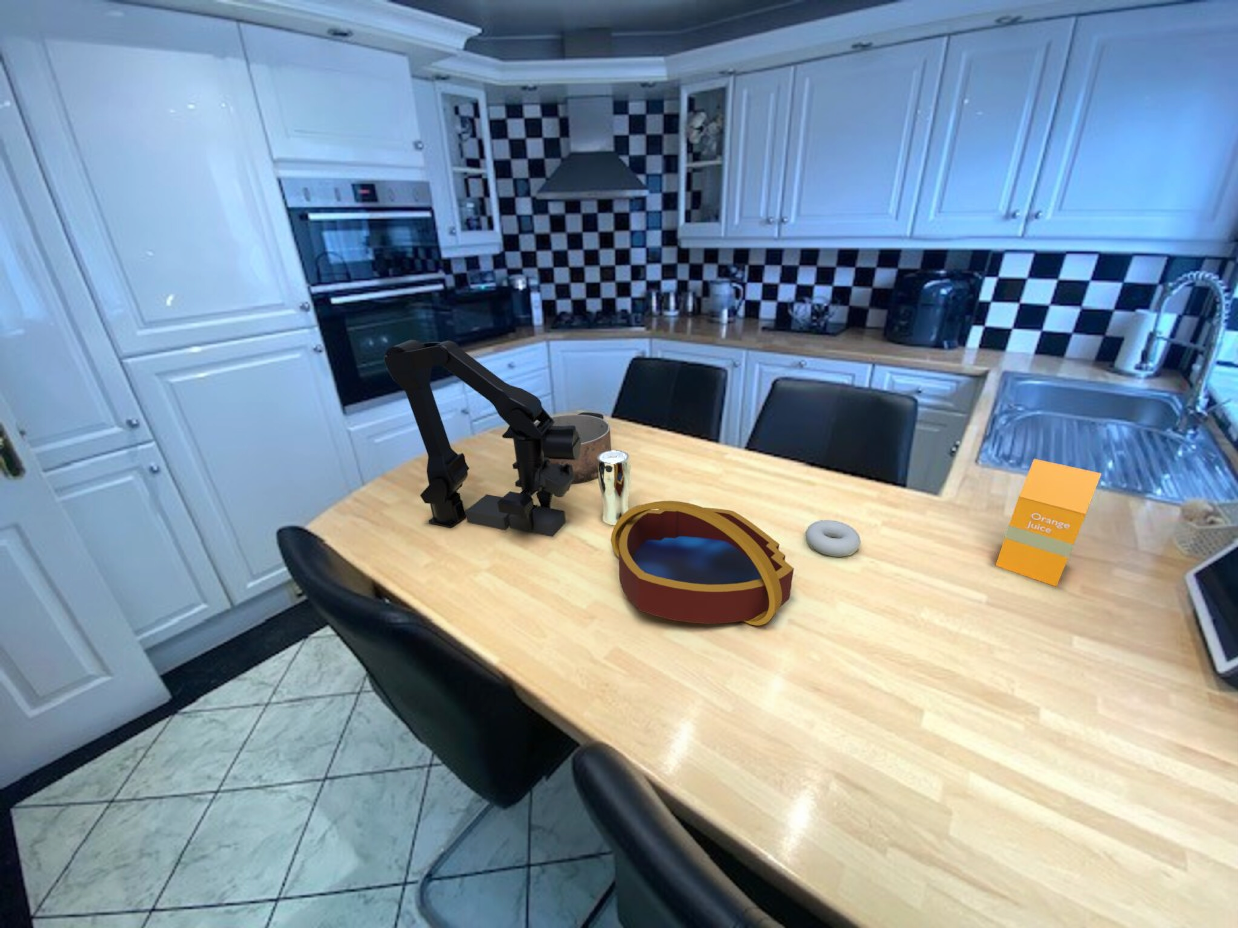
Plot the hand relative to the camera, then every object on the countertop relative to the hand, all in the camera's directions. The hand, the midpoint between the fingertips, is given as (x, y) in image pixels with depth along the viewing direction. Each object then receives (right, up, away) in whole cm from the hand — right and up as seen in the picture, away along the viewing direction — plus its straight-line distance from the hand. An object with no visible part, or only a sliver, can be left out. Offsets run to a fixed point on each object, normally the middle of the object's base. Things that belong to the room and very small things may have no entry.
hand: (538, 521), depth 110 cm
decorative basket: (+30, -9, -19) cm, 37 cm away
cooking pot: (+4, +12, +27) cm, 30 cm away
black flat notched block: (0, -1, 0) cm, 1 cm away
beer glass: (+17, 0, +2) cm, 17 cm away
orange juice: (+91, -6, -19) cm, 93 cm away
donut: (+59, -3, -11) cm, 60 cm away
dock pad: (-9, 0, +4) cm, 10 cm away
